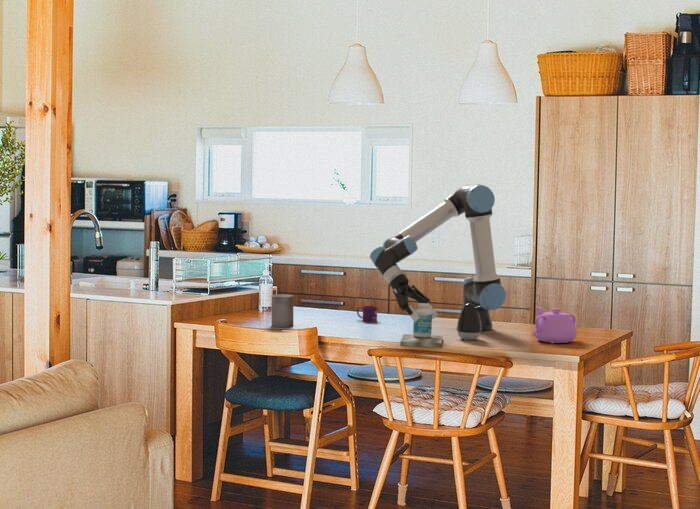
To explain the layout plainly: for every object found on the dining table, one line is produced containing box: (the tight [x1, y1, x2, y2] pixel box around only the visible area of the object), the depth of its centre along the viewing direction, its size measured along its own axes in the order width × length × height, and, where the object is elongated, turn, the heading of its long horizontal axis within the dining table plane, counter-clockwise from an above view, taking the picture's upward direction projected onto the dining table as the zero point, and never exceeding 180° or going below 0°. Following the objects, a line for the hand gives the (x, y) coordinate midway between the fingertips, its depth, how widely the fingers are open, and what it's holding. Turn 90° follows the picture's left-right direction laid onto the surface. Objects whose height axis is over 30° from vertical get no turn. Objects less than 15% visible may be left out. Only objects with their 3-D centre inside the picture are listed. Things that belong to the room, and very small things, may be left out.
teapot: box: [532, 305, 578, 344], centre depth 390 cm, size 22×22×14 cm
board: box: [399, 333, 443, 348], centre depth 378 cm, size 16×20×2 cm
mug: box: [356, 305, 378, 323], centre depth 438 cm, size 7×10×7 cm
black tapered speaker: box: [456, 303, 483, 341], centre depth 388 cm, size 10×10×15 cm
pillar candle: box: [271, 293, 294, 328], centre depth 415 cm, size 10×10×15 cm
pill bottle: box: [412, 302, 433, 338], centre depth 383 cm, size 8×7×14 cm
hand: (426, 318), depth 382 cm, fingers open, 13 cm apart
